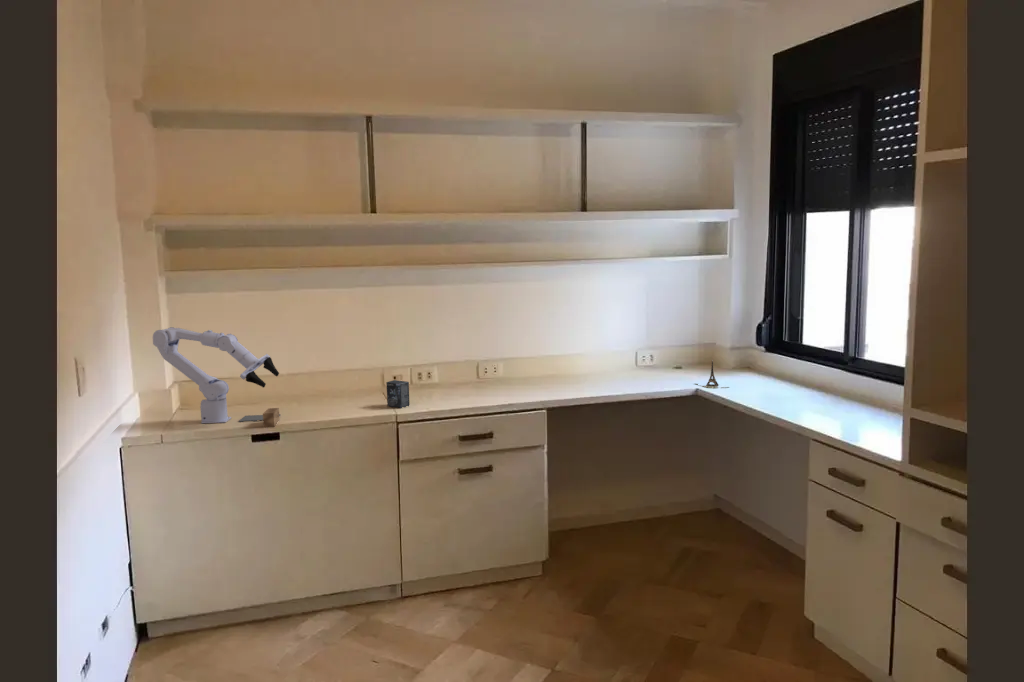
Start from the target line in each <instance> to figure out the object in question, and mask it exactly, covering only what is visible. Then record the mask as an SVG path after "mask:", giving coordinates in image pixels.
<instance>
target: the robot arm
mask: <svg viewBox="0 0 1024 682" xmlns="http://www.w3.org/2000/svg"><path fill="white" fill-rule="evenodd" d="M180 340H185V341H186V340H188V341H193V342H194V341H195V342H200V343H201V345H202V346H204V347H206V346H207V347H211V348H216V349H219V350H220V351H222V352H226V353H227V354H229V355H230V356H231V357H232V358H234V359H235V360H236V361H237V362H238V363H239V364H240V365H242V366H243V367H244V368H245V370H244V371H243V372H242V373H241V374H240V376H239V377H240V379H242V380H244V381H245V382H248V383H253V384H255V385H257V386H260V387H262V388H265V387H266V384H267V383H266V382H265V381H263V380H262V379H261V378H260V377H259V376H258V374H257V373H256V372H255V371H256V370H258V368H260V367H261V366H262V365H263V368H264V369H265V370H267V371H269V372H270V373H271V374H272V375H273V376H275V377H278V376H279V374H280V372H279V371H278V369H277V368H276V366H275V364H274V363H273V359H272V357H271V356H270V355H269V354H268V353H265V355H263V356H261V357H260V358H258V357H257V356H255V355H254V354H253V353H252V352H251V351H250V350H249V349H247V348H246V347H245V346H244V345H243V344H241V343H240V342H239V341H238V337H237V336H236V335H235V334H232V333H227V334H225V332H220V333H219V332H215V331H214V332H213V330H211V329H208V330H206V331H204V332H203V331H202V332H199V331H198V332H197V331H193V330H189V329H184V328H180V327H168V328H163V329H158V330H155V331H154V332H153V334H152V345H153V346H155V347H156V348H157V350H158V351H159V354H160V355H161V357H162V358H163V360H165V362H168V363H169V364H170V365H171V366H172V367H174V368H175V369H177V370H178V371H179V372H181V373H182V374H183V375H184V376H185V377H187V378H188V379H189V380H191V381H192V382H194V383H195V384H196V385H198V390H199V392H201V393H202V396H203V397H204V398H205V399H202V400H201V401H200V417H201V422H200V424H215V423H216V424H218V423H219V424H221V423H223V424H224V423H226V422H228V421H230V420H231V419H232V416H228V403H227V394H228V392H229V390H230V388H229V384H228V383H227V381H225V380H222V379H220V378H218V377H215V376H211V375H210V374H207V373H206V371H204V370H203V369H201V368H200V367H199V366H197V365H196V364H194V363H193V362H192V361H191V360H189V359H188V358H187V357H185V356H184V355H183V354H181V353H180V352H179V351H178V348H179V343H180Z"/></svg>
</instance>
